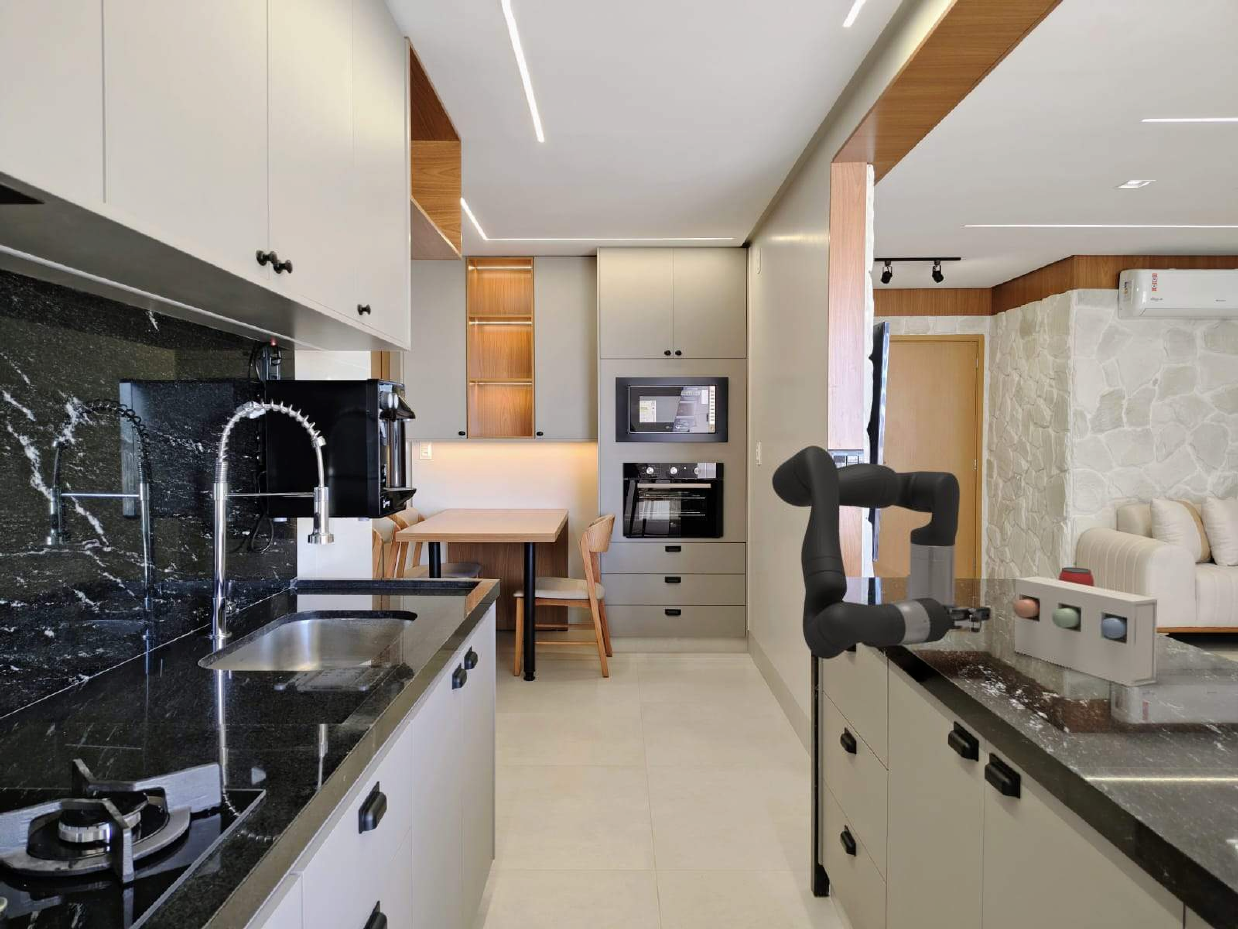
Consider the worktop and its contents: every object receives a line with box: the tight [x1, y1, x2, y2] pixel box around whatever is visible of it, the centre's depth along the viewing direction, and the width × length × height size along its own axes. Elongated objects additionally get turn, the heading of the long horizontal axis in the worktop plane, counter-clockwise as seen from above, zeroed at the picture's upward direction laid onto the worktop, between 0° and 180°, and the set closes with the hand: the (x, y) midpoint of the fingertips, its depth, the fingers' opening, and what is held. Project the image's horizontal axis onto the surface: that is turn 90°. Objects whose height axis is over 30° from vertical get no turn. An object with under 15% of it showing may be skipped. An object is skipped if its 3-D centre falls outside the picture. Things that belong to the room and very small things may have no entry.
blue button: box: [1101, 617, 1127, 638], centre depth 124 cm, size 3×4×3 cm
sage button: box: [1052, 608, 1081, 628], centre depth 131 cm, size 3×4×3 cm
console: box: [1014, 575, 1158, 688], centre depth 133 cm, size 22×6×14 cm, turn 22°
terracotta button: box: [1012, 599, 1040, 618], centre depth 139 cm, size 3×4×3 cm
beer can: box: [1058, 566, 1095, 587], centre depth 163 cm, size 7×7×12 cm
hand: (986, 612), depth 135 cm, fingers closed
